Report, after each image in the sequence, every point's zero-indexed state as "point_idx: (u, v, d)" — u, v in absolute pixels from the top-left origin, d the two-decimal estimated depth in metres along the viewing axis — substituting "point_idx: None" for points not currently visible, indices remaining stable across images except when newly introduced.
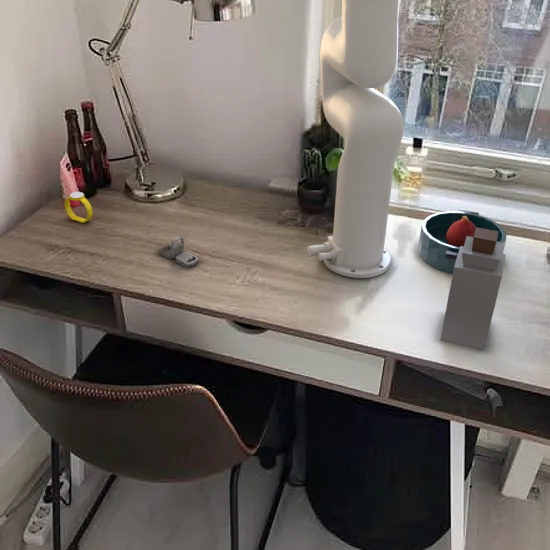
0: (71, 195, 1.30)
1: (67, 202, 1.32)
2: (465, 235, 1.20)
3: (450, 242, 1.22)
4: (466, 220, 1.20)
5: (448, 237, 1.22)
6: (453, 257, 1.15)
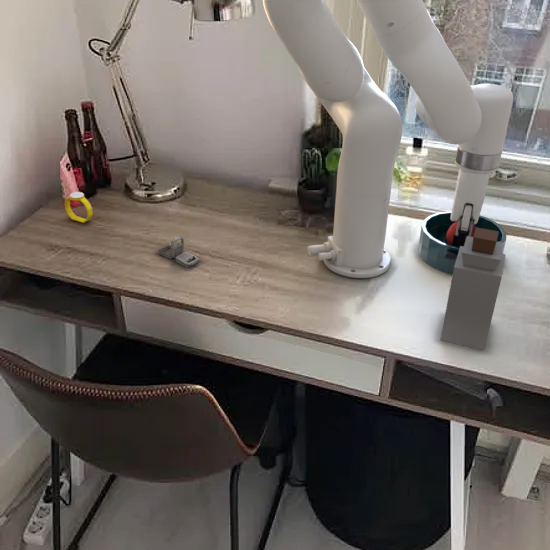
0: (71, 195, 1.30)
1: (67, 202, 1.32)
2: None
3: (450, 242, 1.22)
4: None
5: (448, 237, 1.22)
6: (453, 257, 1.15)
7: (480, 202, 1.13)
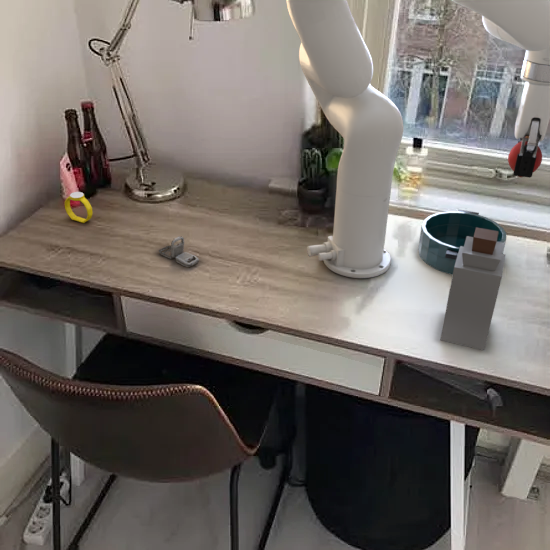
0: (71, 195, 1.30)
1: (67, 202, 1.32)
2: None
3: (513, 163, 1.19)
4: None
5: (511, 158, 1.19)
6: (453, 257, 1.15)
7: (548, 116, 1.10)
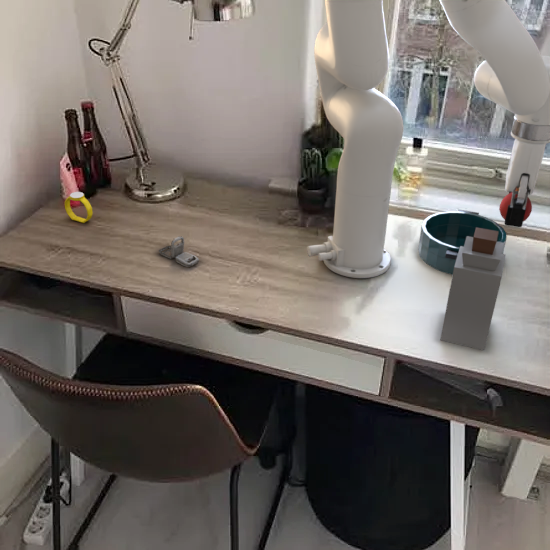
0: (71, 195, 1.30)
1: (67, 202, 1.32)
2: None
3: (504, 213, 1.24)
4: None
5: (502, 208, 1.25)
6: (453, 257, 1.15)
7: (536, 172, 1.16)
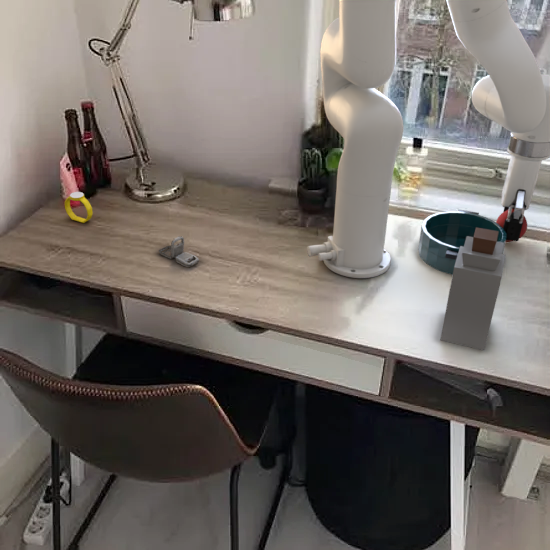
0: (71, 195, 1.30)
1: (67, 202, 1.32)
2: None
3: None
4: None
5: None
6: (453, 257, 1.15)
7: (532, 188, 1.17)
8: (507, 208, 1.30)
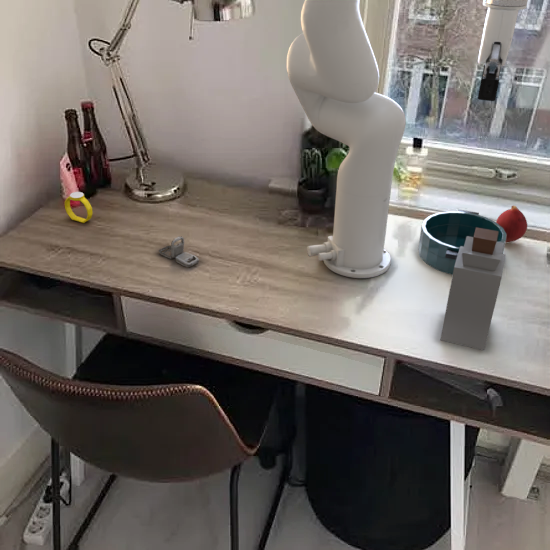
0: (71, 195, 1.30)
1: (67, 202, 1.32)
2: (515, 224, 1.24)
3: None
4: (516, 209, 1.25)
5: None
6: (453, 257, 1.15)
7: (508, 40, 1.15)
8: None
